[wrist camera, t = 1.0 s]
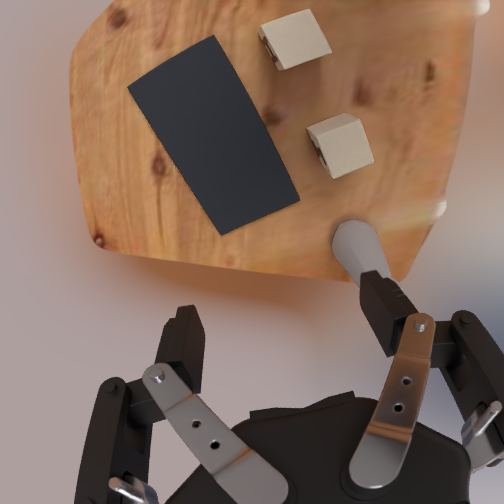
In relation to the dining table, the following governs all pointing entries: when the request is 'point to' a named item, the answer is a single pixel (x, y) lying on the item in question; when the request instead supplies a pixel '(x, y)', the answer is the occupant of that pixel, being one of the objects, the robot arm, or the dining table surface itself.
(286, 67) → the beige rounded cube
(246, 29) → the dining table surface
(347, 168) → the beige cube block
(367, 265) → the salt shaker
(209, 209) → the word mat
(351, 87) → the dining table surface
